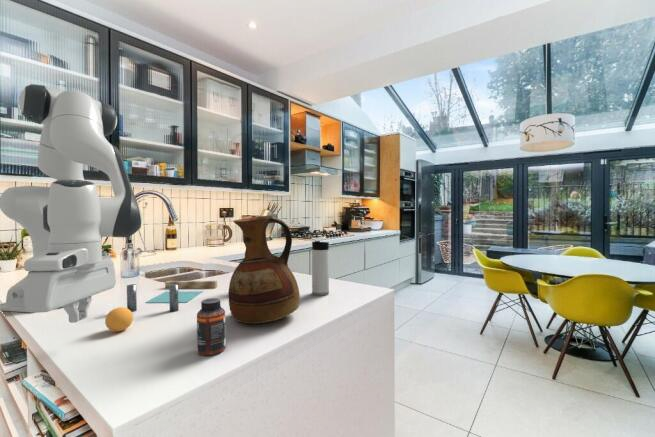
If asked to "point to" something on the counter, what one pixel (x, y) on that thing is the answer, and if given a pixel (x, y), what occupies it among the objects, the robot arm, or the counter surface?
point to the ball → (119, 319)
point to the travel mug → (320, 268)
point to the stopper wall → (192, 284)
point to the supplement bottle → (211, 327)
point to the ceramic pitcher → (262, 276)
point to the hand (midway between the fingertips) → (78, 320)
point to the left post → (131, 297)
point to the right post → (173, 297)
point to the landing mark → (182, 297)
